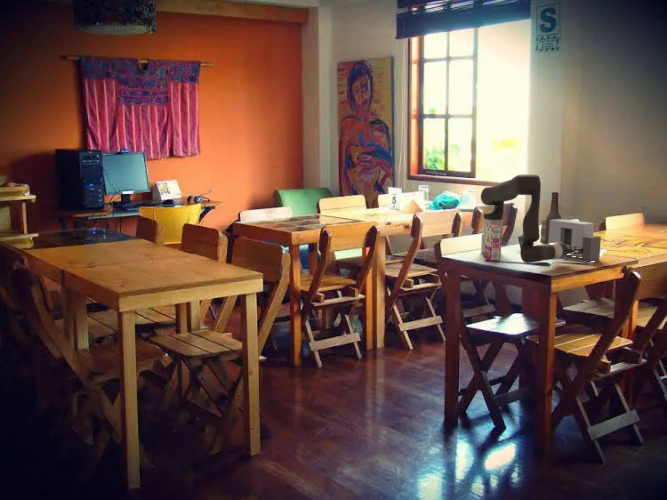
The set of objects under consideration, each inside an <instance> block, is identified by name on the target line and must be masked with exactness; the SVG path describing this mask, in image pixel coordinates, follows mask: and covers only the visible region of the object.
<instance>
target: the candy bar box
mask: <svg viewBox="0 0 667 500" xmlns="http://www.w3.org/2000/svg"><path fill="white" fill-rule="evenodd" d="M501 230H502V231H503V226H502V227H500V226H498V225H495V224H486V232H485V252H484V253H483V254H484V256H483V257H484V258H485V259H487V260H488V261H491V262H499V261H501V253H500V247H501V248H502V238H501Z"/></svg>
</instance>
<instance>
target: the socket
mask: <svg viewBox="0 0 667 500" xmlns="http://www.w3.org/2000/svg"><path fill="white" fill-rule="evenodd" d="M594 228H595V223H594V222H588V221H580V220H579V221H578V220H571V219H562V218H561V219H555V220H550V224H549V242H548V244H550V243H556V242H563V243H565V244H566V245H567V244H568V245H569V246H576V247H582V243H583V237H585V236H592V235H593V236H594V233H595V232H594V231H595V230H594ZM572 250H574V248H573V247H572ZM571 256H576V257H582V254H571Z"/></svg>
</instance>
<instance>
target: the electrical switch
mask: <svg viewBox="0 0 667 500" xmlns="http://www.w3.org/2000/svg"><path fill="white" fill-rule="evenodd" d="M517 239H518V243H519V248H520V250H521V246H522V241H523V233H522V234H521V236H517ZM534 243H535V242H534ZM534 243H533V246H535V245H534Z"/></svg>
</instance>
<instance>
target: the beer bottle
mask: <svg viewBox="0 0 667 500" xmlns="http://www.w3.org/2000/svg"><path fill="white" fill-rule="evenodd" d="M559 197H560V195H559V192H557V191H552V192H551V199H550V200H551V201H550V202H551V203H550V209H549V213H548V214H547V216H546V219H545V220H546V235H545V243H544V245H545V244H548V242H549V224H550V220H555V219H562V217H561V214H560V212H559Z"/></svg>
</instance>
